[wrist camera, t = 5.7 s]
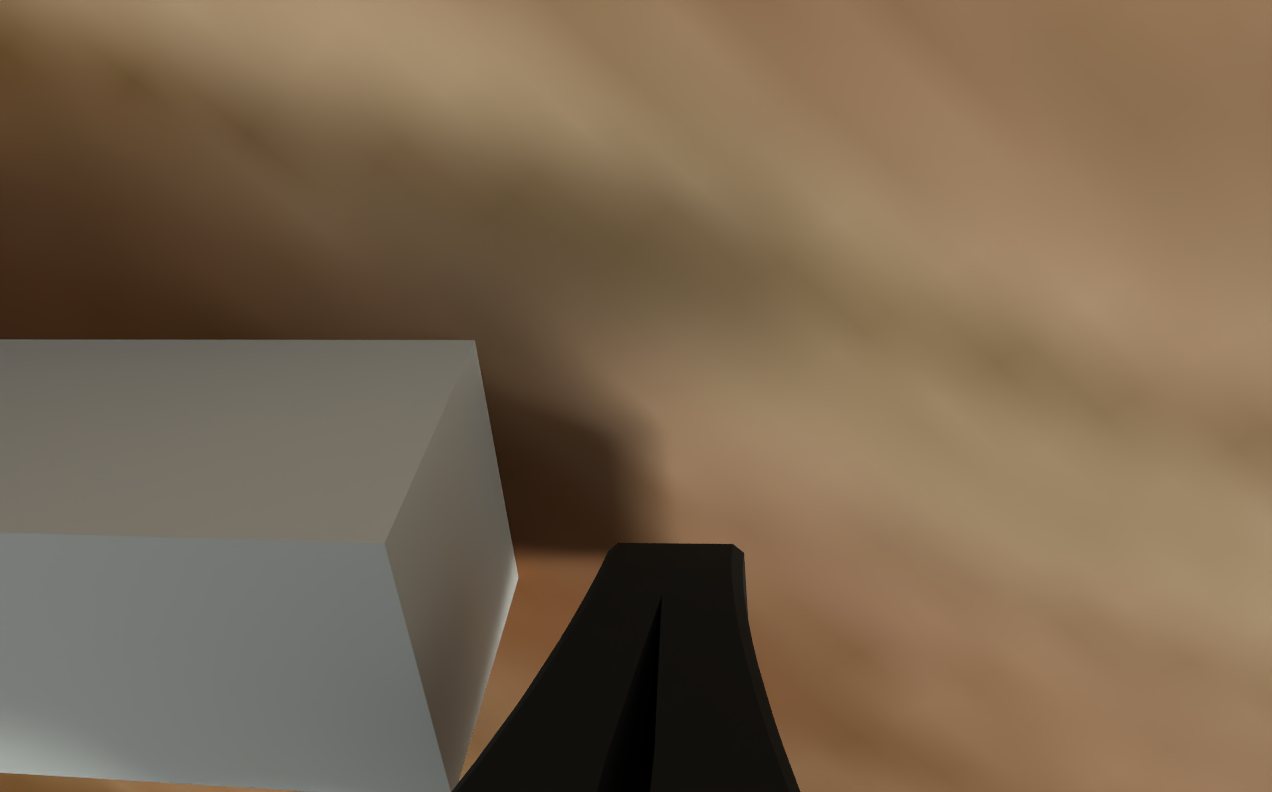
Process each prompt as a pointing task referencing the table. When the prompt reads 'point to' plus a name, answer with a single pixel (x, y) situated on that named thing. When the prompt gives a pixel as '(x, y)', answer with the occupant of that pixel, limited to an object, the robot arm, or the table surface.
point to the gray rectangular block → (248, 561)
